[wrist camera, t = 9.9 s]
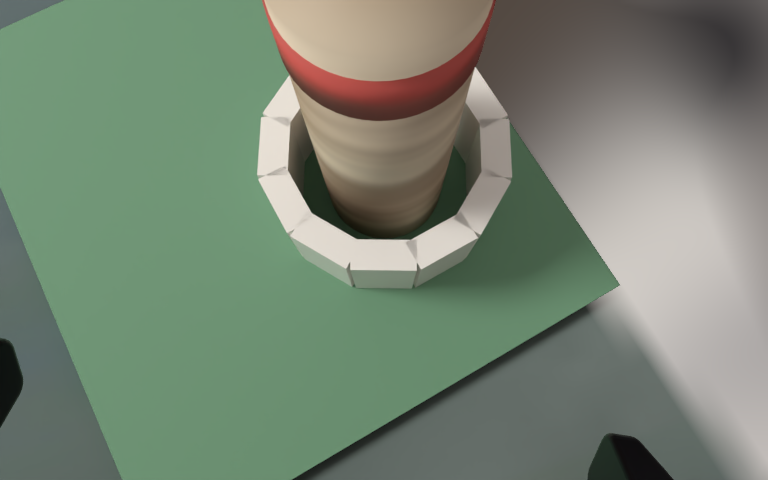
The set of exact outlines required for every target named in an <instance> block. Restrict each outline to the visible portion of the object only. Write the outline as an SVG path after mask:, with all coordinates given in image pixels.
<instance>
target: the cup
mask: <svg viewBox="0 0 768 480" xmlns="http://www.w3.org/2000/svg"><path fill="white" fill-rule="evenodd" d="M263 115H264V117H261V126H260V140H259V155H258V169H257V176H258V178H259V179H258V180H259V182H260V184H261V186H262V188H263V190H264V192H265V193H266V195H267V197H268V199H269V201H270V203H271V204H272V206H273V208H274V210H275V212H276V214H277V216H278V217H279V219H280V221H281V223H282V225H283V227H284V229H285V230H286V232H287V234H288V235H289V237H290V238H291V240H292V241H293V243H294V244H295V246H296V247H297V249H298V250H299V252H300V253H301V255H302V256H303V257H304V258H305V259H306V260H307V261H309V262H311V263H312V264H314V265H316V266H317V267H319V268H321V269H322V270H324V271H326V272H328V273H329V274H331V275H333V276H334V277H336V278H338V279H339V280H341V281H343V282H345V283H346V284H348V285H350V286H351V287H353V285H354V284H355V287H356V288H403V289H412V286H413V284H414V286H415V288H416V287H417V286H419V285H421V284H423V283H425V282H426V281H428V280H430V279H432V278H433V277H435V276H437V275H439V274H441V273H442V272H444V271H446V270H448V269H449V268H451V267H453V266H455V265H457V264H458V263H460V262H462V261H463V260H464V259H465V258H466V257H467V256H468V254H469V252H470V251H471V249H472V248H473V246H474V245H475V243H476V242H477V240H478V239H479V237H480V236H481V234H482V232H483V230H484V229H485V227H486V225H487V223H488V222H489V220H490V218H491V216H492V214H493V213H494V211H495V209H496V207H497V206H498V204H499V202H500V200H501V199H502V197H503V195H504V193H505V192H506V190H507V188H508V186H509V184H510V183H511V181H510V180H511V178H512V164H511V143H510V123H509V119H506V118H507V116H508V114H507V113H506V111H505V110H504V108H503V107H502V105H501V104H500V103H499V101H498V100H497V98H496V97H495V95H494V94H493V92H492V91H491V89H490V88H489V86H488V85H487V83H486V82H485V80H484V79H483V77H482V76H481V75H480V73H479V72H478V70H477V69H476V67H475V69H474V72H473V76H472V80H471V83H470V87H469V91H468V94H467V98H466V102H465V105H464V109H463V113H462V116H461V120H460V124H459V127H458V131H457V134H456V138H455V142H454V146H455V148H456V149H457V151H458V152H459V154H460V155H461V157H462V159H463V160H464V162H465V164H466V199H465V201H464V203H463V204H462V206H461V208H460V209H459V211H458V213H457V215H455V216H453V217H451V218H449V219H448V220H446V221H444V222H442V223H440V224H438V225H437V226H435V227H433V228H431V229H429V230H428V231H426V232H424V233H422V234H420V235H419V236H417V237H415V238H413V239H411V240H373V239H356V238H354V237H352V236H350V235H349V234H347V233H345V232H343V231H342V230H340V229H338V228H336V227H335V226H333V225H331V224H329V223H328V222H326V221H324V220H323V219H321V218H319V217H317V216H316V215H314V214H312V213H311V211H310V209H309V208H308V206H307V204H306V202H305V200H304V199H303V190H304V170H305V161H306V159H307V158H308V156H309V155H310V153H311V152H312V151H313V149H314V147H313V144H312V141H311V138H310V135H309V133H308V130H307V127H306V124H305V121H304V118H303V115H302V112H301V109H300V106H299V103H298V100H297V97H296V94H295V91H294V88H293V85H292V82H291V79H290V76H288V78H287V79H286V81H285V82H284V83H283V85H282V86H281V88H280V89H279V90H278V92H277V93H276V95H275V96H274V98H273V99H272V100H271V102H270V103H269V105H268V106H267V108H266V109H265V110H264V112H263Z"/></svg>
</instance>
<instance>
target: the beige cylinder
mask: <svg viewBox="0 0 768 480" xmlns="http://www.w3.org/2000/svg"><path fill="white" fill-rule="evenodd" d="M495 1H496V0H262V2H263V6H264V9H265V12H266V16H267V19H268V21H269V24H270V27H271V30H272V33H273V36H274V39H275V42H276V45H277V48H278V51H279V54H280V56H281V59H282V61H283V64H284V66H285V68H286V70H287V72H288V73H289V76H290V79H291V82H292V85H293V88H294V91H295V94H296V97H297V100H298V103H299V106H300V109H301V112H302V115H303V118H304V121H305V124H306V127H307V130H308V133H309V135H310V138H311V141H312V144H313V147H314V150H315V153H316V156H317V159H318V162H319V165H320V168H321V171H322V174H323V177H324V180H325V183H326V186H327V189H328V192H329V195H330V198H331V201H332V204H333V206H334V208H335V210H336V212H337V213H338V215H339V216H340V218H341V219H342V220H343V221H344V222H345V223H346V224H347V225H348V226H349V227H351V228H352V229H354V230H355V231H357V232H359V233H361V234H364V235H367V236H370V237H374V238H395V237H399V236H403V235H406V234H408V233H410V232H412V231H414V230H416V229H417V228H419V227H420V226H421V225H422V224H424V223H425V222H426V221H427V219H428V218H429V217H430V216H431V214H432V213H433V211H434V209H435V208H436V206H437V203H438V200H439V197H440V193H441V189H442V186H443V182H444V178H445V175H446V171H447V167H448V164H449V160H450V156H451V153H452V149H453V145H454V142H455V138H456V134H457V131H458V127H459V124H460V120H461V116H462V113H463V109H464V105H465V102H466V98H467V94H468V91H469V87H470V83H471V80H472V76H473V72H474V69H475V66H476V64H477V62H478V60H479V57H480V54H481V52H482V48H483V44H484V41H485V37H486V34H487V31H488V27H489V24H490V19H491V16H492V13H493V9H494V6H495Z"/></svg>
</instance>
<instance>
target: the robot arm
mask: <svg viewBox="0 0 768 480" xmlns="http://www.w3.org/2000/svg"><path fill="white" fill-rule="evenodd" d="M22 386H23V375H22V372H21V369H20V366H19V363H18V359H17V356H16V353H15V350H14V347H13V345H12V343H11V342H10V341H9V340H6V339H2V338H0V427H1V426H2V424H3V422H4V421H5V419H6V417H7V415H8V414H9V412H10V410H11V409H12V407H13V405H14V403H15V402H16V400H17V398H18V397H19V395H20V393H21V390H22ZM588 480H674V479H673V478H672V477H671V476H670V475H669V474H668V473H667V471H666V470H665V469H664V468H663V467H662V466H661V465H660V463H659V462H658V461H657V460H656V459H655V458H654V457H653V456H652V454H651V453H650V452H649V451H648V450H647V449H646V448H645V446H644V445H643V444H642V443H641V442H640V441H639V440H638V439H636V438H634V437H632V436H626V435H619V434H613V433H609V434H607V435H605V436H604V438H603V439H602V441H601V443H600V446H599V448H598V450H597V452H596V454H595V457H594V459H593V461H592V463H591V465H590V468H589V472H588Z"/></svg>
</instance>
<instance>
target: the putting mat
mask: <svg viewBox="0 0 768 480" xmlns="http://www.w3.org/2000/svg"><path fill="white" fill-rule="evenodd" d="M288 76H289V73H288V72H287V70H286V68H285V66H284V64H283V61H282V59H281V56H280V54H279V51H278V48H277V45H276V42H275V39H274V36H273V33H272V30H271V27H270V24H269V21H268V19H267V16H266V12H265V9H264V6H263V2H262V0H64V1H62V2H60V3H57V4H55V5H53V6H51V7H49V8H46V9H44V10H42V11H40V12H37V13H35V14H33V15H31V16H29V17H26V18H24V19H22V20H20V21H18V22H15V23H13V24H11V25H9V26H7V27H4V28H2V29H0V188H1V190H2V192H3V195H4V197H5V200H6V202H7V204H8V207H9V209H10V212H11V214H12V216H13V219H14V221H15V224H16V226H17V228H18V231H19V233H20V236H21V238H22V240H23V243H24V245H25V248H26V250H27V252H28V255H29V257H30V260H31V262H32V264H33V267H34V269H35V272H36V274H37V276H38V279H39V281H40V284H41V286H42V288H43V291H44V293H45V296H46V298H47V300H48V303H49V305H50V308H51V310H52V312H53V315H54V317H55V320H56V322H57V324H58V327H59V329H60V332H61V334H62V336H63V339H64V341H65V344H66V346H67V348H68V351H69V353H70V356H71V358H72V360H73V363H74V365H75V368H76V370H77V372H78V375H79V377H80V380H81V382H82V384H83V387H84V389H85V392H86V394H87V396H88V399H89V401H90V404H91V406H92V408H93V411H94V413H95V416H96V418H97V420H98V423H99V425H100V428H101V430H102V432H103V435H104V437H105V440H106V442H107V444H108V447H109V449H110V452H111V454H112V456H113V459H114V461H115V464H116V466H117V468H118V471H119V473H120V476H121V478H122V480H292V479H294V478H295V477H297V476H299V475H300V474H302V473H304V472H305V471H307V470H309V469H310V468H312V467H314V466H316V465H317V464H319V463H321V462H322V461H324V460H326V459H327V458H329V457H331V456H332V455H334V454H336V453H338V452H339V451H341V450H343V449H344V448H346V447H348V446H349V445H351V444H353V443H354V442H356V441H358V440H359V439H361V438H363V437H365V436H366V435H368V434H370V433H371V432H373V431H375V430H376V429H378V428H380V427H381V426H383V425H385V424H386V423H388V422H390V421H392V420H393V419H395V418H397V417H398V416H400V415H402V414H403V413H405V412H407V411H408V410H410V409H412V408H413V407H415V406H417V405H419V404H420V403H422V402H424V401H425V400H427V399H429V398H430V397H432V396H434V395H435V394H437V393H439V392H440V391H442V390H444V389H446V388H447V387H449V386H451V385H452V384H454V383H456V382H457V381H459V380H461V379H462V378H464V377H466V376H467V375H469V374H471V373H473V372H474V371H476V370H478V369H479V368H481V367H483V366H484V365H486V364H488V363H489V362H491V361H493V360H494V359H496V358H498V357H500V356H501V355H503V354H505V353H506V352H508V351H510V350H511V349H513V348H515V347H516V346H518V345H520V344H521V343H523V342H525V341H527V340H528V339H530V338H532V337H533V336H535V335H537V334H538V333H540V332H542V331H543V330H545V329H547V328H548V327H550V326H552V325H554V324H555V323H557V322H559V321H560V320H562V319H564V318H565V317H567V316H569V315H570V314H572V313H574V312H575V311H577V310H579V309H581V308H582V307H584V306H586V305H587V304H589V303H591V302H592V301H594V300H596V299H597V298H599V297H601V296H602V295H604V294H606V293H608V292H609V291H611V290H613V289H614V288H616V287H618V286H619V285H620V284H619V283H618V281H617V280H616V278H615V277H614V275H613V274H612V272H611V271H610V269H609V268H608V266H607V265H606V264H605V262H604V261H603V259H602V258H601V256H600V255H599V253H598V252H597V250H596V249H595V247H594V246H593V244H592V243H591V241H590V240H589V238H588V237H587V235H586V234H585V232H584V231H583V230H582V228H581V227H580V225H579V224H578V222H577V221H576V219H575V218H574V216H573V215H572V213H571V212H570V210H569V209H568V207H567V206H566V204H565V203H564V201H563V200H562V198H561V197H560V196H559V194H558V193H557V191H556V190H555V188H554V187H553V185H552V184H551V182H550V181H549V179H548V178H547V176H546V175H545V173H544V172H543V170H542V169H541V167H540V166H539V164H538V163H537V162H536V160H535V159H534V157H533V156H532V154H531V153H530V151H529V150H528V148H527V147H526V145H525V144H524V142H523V141H522V139H521V138H520V136H519V135H518V133H517V132H516V130H515V129H514V127H513V126H512V125H511V123H510V122H509V123H510V143H511V164H512V178H511V180H510V181H511V183H510V184H509V186H508V188H507V190H506V192H505V193H504V195H503V197H502V199H501V200H500V202H499V204H498V206H497V207H496V209H495V211H494V213H493V214H492V216H491V218H490V220H489V222H488V223H487V225H486V227H485V229H484V230H483V232H482V234H481V236H480V237H479V239H478V240H477V242H476V243H475V245H474V246H473V248H472V249H471V251H470V252H469V254H468V256H467V257H466V258H465V259H464V260H463V261H462V262H460V263H458V264H457V265H455V266H453V267H451V268H449V269H448V270H446V271H444V272H442V273H441V274H439V275H437V276H435V277H433V278H432V279H430V280H428V281H426V282H425V283H423V284H421V285H419V286H417V287H416V288H415V286H414V284H413V286H412V289H403V288H356V287H355V284H354V285H353V287H351V286H350V285H348V284H346V283H345V282H343V281H341V280H339V279H338V278H336V277H334V276H333V275H331V274H329V273H328V272H326V271H324V270H322V269H321V268H319V267H317V266H316V265H314V264H312V263H311V262H309V261H307V260H306V259H305V258H304V257H303V256H302V255H301V253H300V252H299V250H298V249H297V247H296V246H295V244H294V243H293V241H292V240H291V238H290V237H289V235H288V234H287V232H286V230H285V229H284V227H283V225H282V223H281V221H280V219H279V217H278V216H277V214H276V212H275V210H274V208H273V206H272V204H271V203H270V201H269V199H268V197H267V195H266V193H265V192H264V190H263V188H262V186H261V184H260V182H259V180H258V179H259V178H258V176H257V169H258V155H259V140H260V126H261V117H264V115H263V112H264V110H265V109H266V108H267V106H268V105H269V103H270V102H271V100H272V99H273V98H274V96H275V95H276V93H277V92H278V90H279V89H280V88H281V86H282V85H283V83H284V82H285V81H286V79H287V78H288ZM506 119H507V118H506ZM303 199H304V200H305V202H306V204H307V206H308V208H309V209H310V211H311V213H312V214H314V215H316V216H317V217H319V218H321V219H323V220H324V221H326V222H328V223H329V224H331V225H333V226H335V227H336V228H338V229H340V230H342V231H343V232H345V233H347V234H349V235H350V236H352V237H354V238H356V239H373V240H411V239H413V238H415V237H417V236H419V235H420V234H422V233H424V232H426V231H428V230H429V229H431V228H433V227H435V226H437V225H438V224H440V223H442V222H444V221H446V220H448V219H449V218H451V217H453V216H455V215H457V213H458V211H459V209H460V208H461V206H462V204H463V203H464V201H465V199H466V164H465V162H464V160H463V159H462V157H461V155H460V154H459V152H458V151H457V149H456V148H455V146H454V145H453V149H452V153H451V156H450V160H449V164H448V167H447V171H446V175H445V178H444V182H443V186H442V189H441V193H440V197H439V200H438V203H437V206H436V208H435V209H434V211H433V213H432V214H431V216H430V217H429V218H428V219H427V221H426V222H425V223H424V224H422V225H421V226H420V227H419V228H417V229H416V230H414V231H412V232H410V233H408V234H406V235H403V236H399V237H395V238H374V237H370V236H367V235H364V234H361V233H359V232H357V231H355V230H354V229H352V228H351V227H349V226H348V225H347V224H346V223H345V222H344V221H343V220H342V219H341V218H340V216H339V215H338V213H337V212H336V210H335V208H334V206H333V204H332V201H331V198H330V195H329V192H328V189H327V186H326V183H325V180H324V177H323V174H322V171H321V168H320V165H319V162H318V159H317V156H316V153H315V150H314V149H313V151H312V152H311V153H310V155H309V156H308V158H307V159H306V161H305V170H304V190H303Z"/></svg>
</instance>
